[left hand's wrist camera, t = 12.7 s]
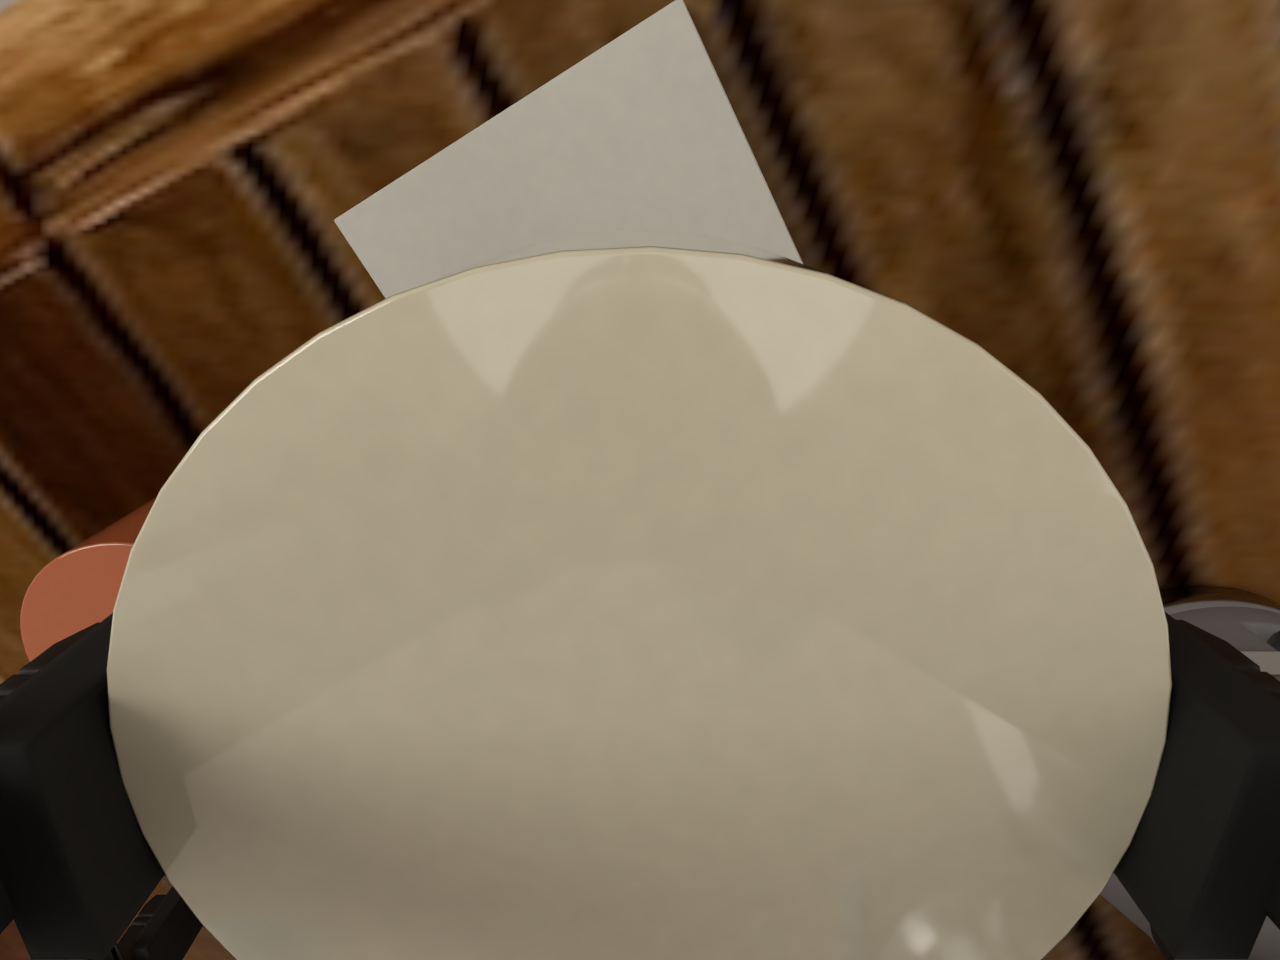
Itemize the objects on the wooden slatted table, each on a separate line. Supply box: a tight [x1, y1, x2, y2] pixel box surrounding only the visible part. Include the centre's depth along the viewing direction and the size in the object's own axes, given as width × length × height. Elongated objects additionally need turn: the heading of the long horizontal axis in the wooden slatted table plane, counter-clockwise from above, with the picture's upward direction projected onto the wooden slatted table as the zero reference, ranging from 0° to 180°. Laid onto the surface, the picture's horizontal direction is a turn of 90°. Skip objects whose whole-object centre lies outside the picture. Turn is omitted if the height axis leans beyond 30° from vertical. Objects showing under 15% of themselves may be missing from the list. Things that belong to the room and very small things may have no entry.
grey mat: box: [334, 0, 803, 298], centre depth 28 cm, size 20×14×1 cm
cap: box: [107, 230, 1172, 960], centre depth 9 cm, size 11×11×4 cm
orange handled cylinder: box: [20, 497, 157, 662], centre depth 30 cm, size 24×8×8 cm, turn 0°
